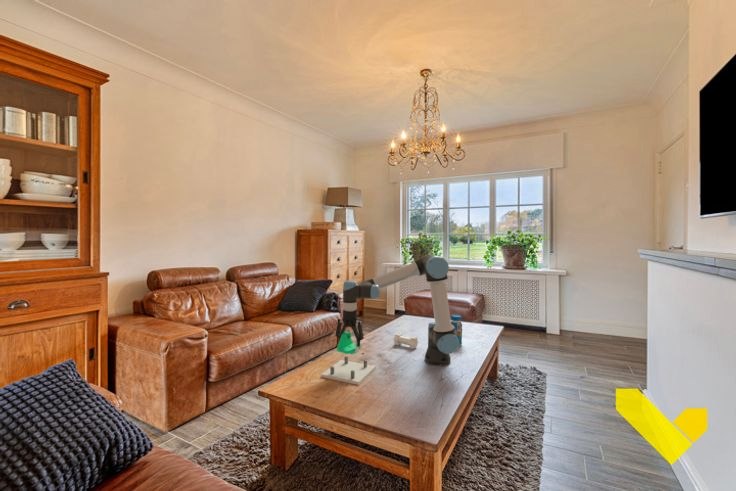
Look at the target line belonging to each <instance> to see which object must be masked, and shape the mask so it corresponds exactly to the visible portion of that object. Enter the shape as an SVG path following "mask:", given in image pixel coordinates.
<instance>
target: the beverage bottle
mask: <svg viewBox="0 0 736 491" xmlns="http://www.w3.org/2000/svg"><path fill="white" fill-rule="evenodd" d="M450 319H451V324H452V325H453V326H454V327H455V335H456V336H457V338H458V340H459V347H460V346H462V344H463V324H462V322H461V321H462V316H461V315H460V314H450Z"/></svg>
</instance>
